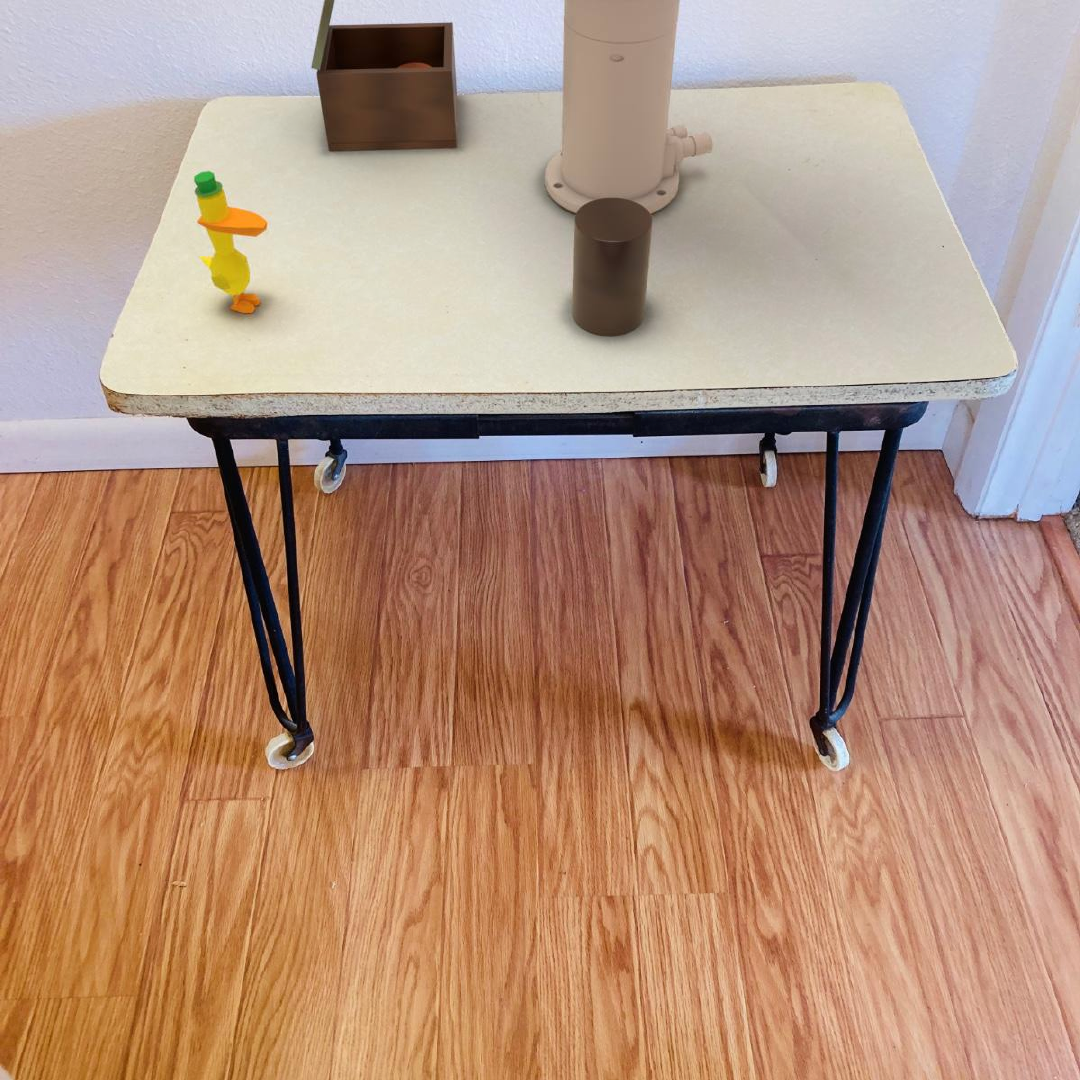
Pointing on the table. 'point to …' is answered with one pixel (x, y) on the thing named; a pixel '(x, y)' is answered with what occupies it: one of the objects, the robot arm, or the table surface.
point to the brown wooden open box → (389, 87)
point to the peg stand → (610, 265)
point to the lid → (322, 33)
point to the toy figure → (227, 240)
